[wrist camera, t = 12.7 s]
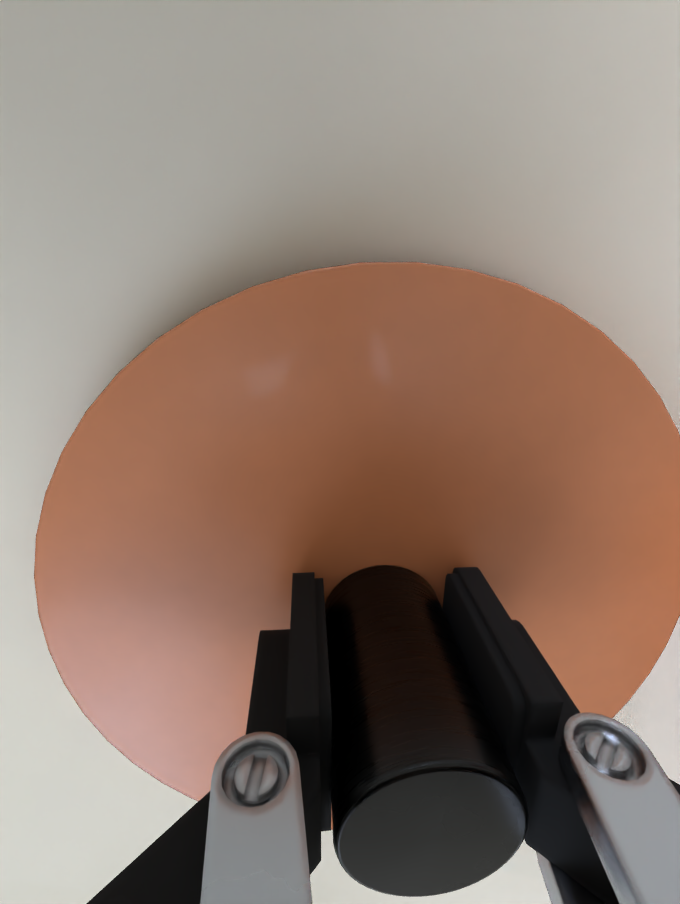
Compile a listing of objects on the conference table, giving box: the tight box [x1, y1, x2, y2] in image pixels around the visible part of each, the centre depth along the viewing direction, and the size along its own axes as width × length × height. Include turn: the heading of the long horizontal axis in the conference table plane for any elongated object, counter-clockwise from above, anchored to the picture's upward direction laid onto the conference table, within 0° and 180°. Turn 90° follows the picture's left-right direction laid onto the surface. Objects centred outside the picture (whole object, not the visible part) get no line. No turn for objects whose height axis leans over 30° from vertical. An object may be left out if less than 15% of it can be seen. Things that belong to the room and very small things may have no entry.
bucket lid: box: [34, 262, 680, 897], centre depth 10 cm, size 17×17×6 cm
